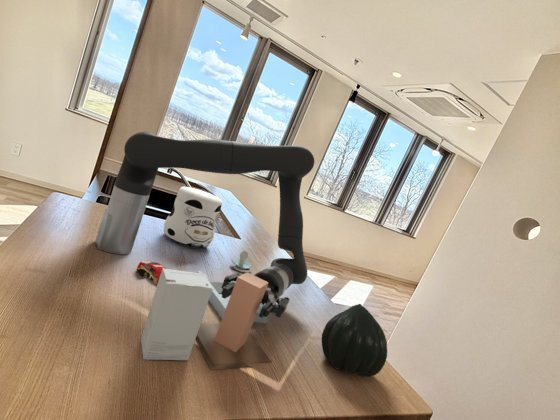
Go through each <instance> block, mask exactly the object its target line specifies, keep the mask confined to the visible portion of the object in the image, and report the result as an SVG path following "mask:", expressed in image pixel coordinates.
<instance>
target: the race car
mask: <svg viewBox="0 0 560 420" xmlns="http://www.w3.org/2000/svg"><path fill="white" fill-rule="evenodd" d="M163 268H164V269H167V267H165V266H164V265H163V264H162V263H160V262H155V261H152V260H141V261H140V262H139V263H138V265H137V268H136V272H137V273H138V275H139V276H140V277H141V278H143V279H147V278H148V279H149V280H150V281H152V283H154V284H155V285H157V284H158V281H159V278H160V275H161V272H162V269H163Z"/></svg>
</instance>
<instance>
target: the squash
mask: <svg viewBox="0 0 560 420" xmlns="http://www.w3.org/2000/svg"><path fill="white" fill-rule="evenodd" d="M321 347H322V352H323V355H324V357H325V358H326V359H327V361H329V362H330V364H331V366H332V367H333V368H335V369H337V370H344V371H346V372H347V373H349V374H353V373H356V374H357V375H359V376H361V377H364V378H365V377H366V378H370V377H374V376H376V375H378V374H379V373H380V372H381V371H382V369H383V368H384V366H385V364H386V361H387V358H388V342H387V338H386V334H385V332H384V329H382V327H381V325H380V323H379V322H378V321H377V320H376V319H375V317H374V316H373V315H372V314H371V312H370V311H369V310H368V309H367V308H366V307H365V306H363V305H362V304H361V303H358V304H354V305H352V306H350V307H349V308H347V309H345V310H343V311H341V312H339V313H337V314H336V315H334V316H333V317H331V319H329V320H328V322H326V324H325V326H324V327H323V330H322V334H321Z"/></svg>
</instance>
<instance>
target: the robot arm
mask: <svg viewBox="0 0 560 420" xmlns="http://www.w3.org/2000/svg"><path fill="white" fill-rule="evenodd" d="M123 150H124V156H123V159H122V163H121V165H120V168H119V171H118V173H117V175H116V178H115V181H114V185H113V188H112V191H111V195H110V198H109V202H108V205H107V208H105V209H104V211H103V214H102V217H101V220H100V224H99V227H98V230H97V234H96V237H95V245H96V248H97V250H102V251H104V252H107V253H112V254H117V255H129V254H131V252H132V251H133V247H134V245H135V242H136V238H137V235H138V232H139V229H140V225H141V223H142V220H143V216H144V213H145V211H146V207H147V203H148V201H149V198H150V194H151V191H152V189H153V185H154V183H155V180H156V177H157V174H158V170H159V169H160V168H161V169H163V168H165V169H172V168H173V169H175V168H176V169H184V170H185V169H186V170H192V171H196V172H197V171H199V172H204V173H205V172H206V173H214V174H224V175H243V174H248V173H249V174H250V173H257V172H263V171H264V172H266V171H268V172H269V171H270V172H277V178H278V185H279V218H278V219H279V220H278V231H277V232H278V234H277V236H278V237H277V246H278V248H279V249H281V250H284V251H289V252H291V253H292V255H293V258H285V257H279V258H275V259H273V260H272V261H271V262H270V266H269V267H266V268H264V269H262V270H261V271H259V272H256V273H255V274H253V275H254V276H256V277H258V278H260V279H262V280H265V281H267V282H269V283H268V286H267V288H266V291H265V293H264V296H263V298H262V301H261V306H262V309H261V311H260V314H259V317H261V318H263V317H267V316H268V315H269V316H270V315H273V314H274V315H275V316H276V317H277V318H281V317H282V315H283V314H284V313H285V312H286V310H287V307H288V304H289V303H290V300H291V299H290V298H289V297H288V296H284V297H281V296H283V295H284V293H285V292H286V290H288V288H289V287H291V285H302V284H304V282H305V281H306V280H307V277H308V268H307V263H306V260H305V259H306V258H305V255H304V254H305V253H304V247H303V235H304V234H303V233H304V219H303V218H304V217H303V216H304V215H303V212H302V206H301V198H300V195H301V193H300V191H301V185H302V180H303V178H304V177H305V176H307V175H308V174H309V173H310V172H311V171H312V170H313V168H314V165H315V157H314V155H313V154H312V152H311V151H310V150H309V149H308V148H306V147H304V146H301V145H267V144H266V145H265V144H259V143H258V144H257V143H249V142H241V141H234V140H233V141H232V140H224V139H190V140H189V139H188V140H184V139H176V138H175V139H174V138H168V137H162V136H158V135H156V134H154V133H153V132H150V131H139V132H137V133H134V134H133V135H131V136H130V137H129V138H128V139H127V140H126V142H125V144H124V149H123ZM239 276H241V274H240V273H239V272H235V273H232V274H230V275H226V276H225V277H224V279H223V281H222V282H223V284H222V287H221V288H222V289H223V290H222V293H221V294H222V297H223V298H224V299H225V298H227V297H229V296H230V295H231V293H232V291H233V288H234V285H235V283H236V280H237V277H239Z"/></svg>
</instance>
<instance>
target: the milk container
mask: <svg viewBox="0 0 560 420" xmlns="http://www.w3.org/2000/svg"><path fill="white" fill-rule="evenodd" d="M222 206H223V199H221V198H220V197H218V196H216V195H215V194H212V193H209V192H207V191H204V190H202V189H197V188H194V187H190V186H180V188H179V190H178V192H177V194H176V197H175V199H174V203H173V206H172V208H171V209H172V210H171V211H170V213H169V214H168V216H167V217H166V218H165V221H164V225H163V233H164V235H165V237H166V238H167V239H169V240H170V241H172V242H174V243H176V244H178V245H181V246H184V247H188V248H192V249H204V248H207V247H209V246H210V244H212V241H213V240H214V237H215V231H216V230H215V228H216V225H217V224H216V223H217V220H218V217H219V215H220V211H221V210H222Z"/></svg>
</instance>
